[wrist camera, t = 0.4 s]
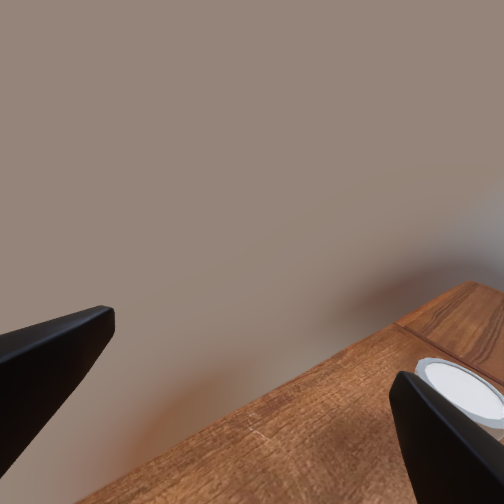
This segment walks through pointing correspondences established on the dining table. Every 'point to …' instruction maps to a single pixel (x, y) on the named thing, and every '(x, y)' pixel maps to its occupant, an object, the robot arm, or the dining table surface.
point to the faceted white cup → (466, 393)
